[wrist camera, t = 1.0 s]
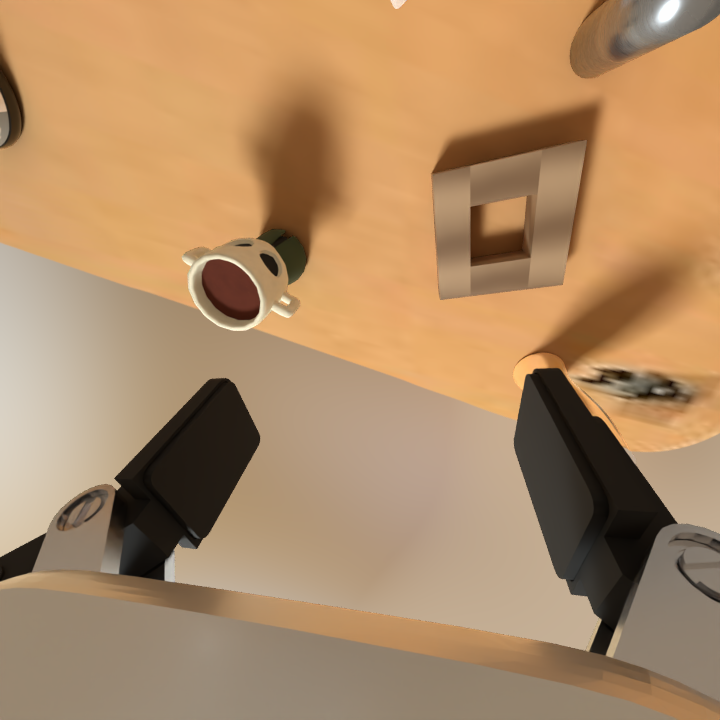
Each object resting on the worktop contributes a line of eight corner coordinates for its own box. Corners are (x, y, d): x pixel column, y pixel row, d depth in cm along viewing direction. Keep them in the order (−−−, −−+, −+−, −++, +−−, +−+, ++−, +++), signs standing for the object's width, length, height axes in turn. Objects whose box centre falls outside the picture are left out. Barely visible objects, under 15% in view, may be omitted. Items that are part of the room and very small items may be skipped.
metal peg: (574, 14, 22) (668, -74, 14) (639, -7, 21) (781, -115, 13) (565, 85, 24) (642, 45, 16) (624, 69, 23) (737, 18, 15)
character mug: (334, 253, 35) (297, 293, 24) (312, 301, 39) (271, 354, 28) (249, 202, 33) (169, 221, 22) (235, 257, 37) (161, 296, 26)
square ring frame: (431, 173, 29) (432, 174, 26) (571, 141, 26) (587, 139, 23) (438, 290, 35) (440, 299, 32) (551, 275, 32) (562, 284, 30)
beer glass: (581, 364, 37) (660, 464, 25) (538, 399, 41) (589, 499, 29) (536, 340, 36) (596, 430, 24) (497, 377, 40) (531, 471, 28)
